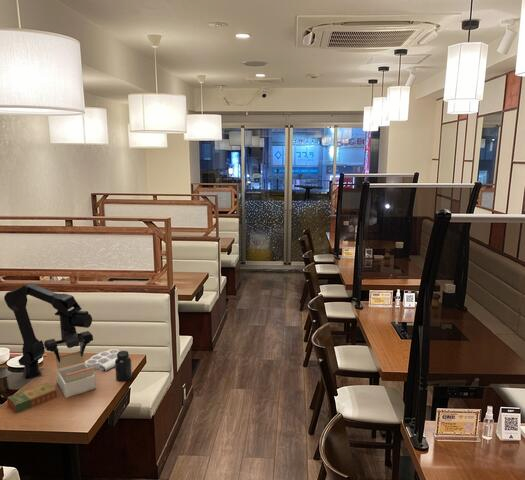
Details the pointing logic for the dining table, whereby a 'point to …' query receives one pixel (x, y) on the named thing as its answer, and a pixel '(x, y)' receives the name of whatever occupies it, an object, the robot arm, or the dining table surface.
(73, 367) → the crate
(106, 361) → the white egg tray
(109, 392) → the dining table surface
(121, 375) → the supplement bottle
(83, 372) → the flap
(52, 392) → the carton
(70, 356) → the flap
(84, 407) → the dining table surface
